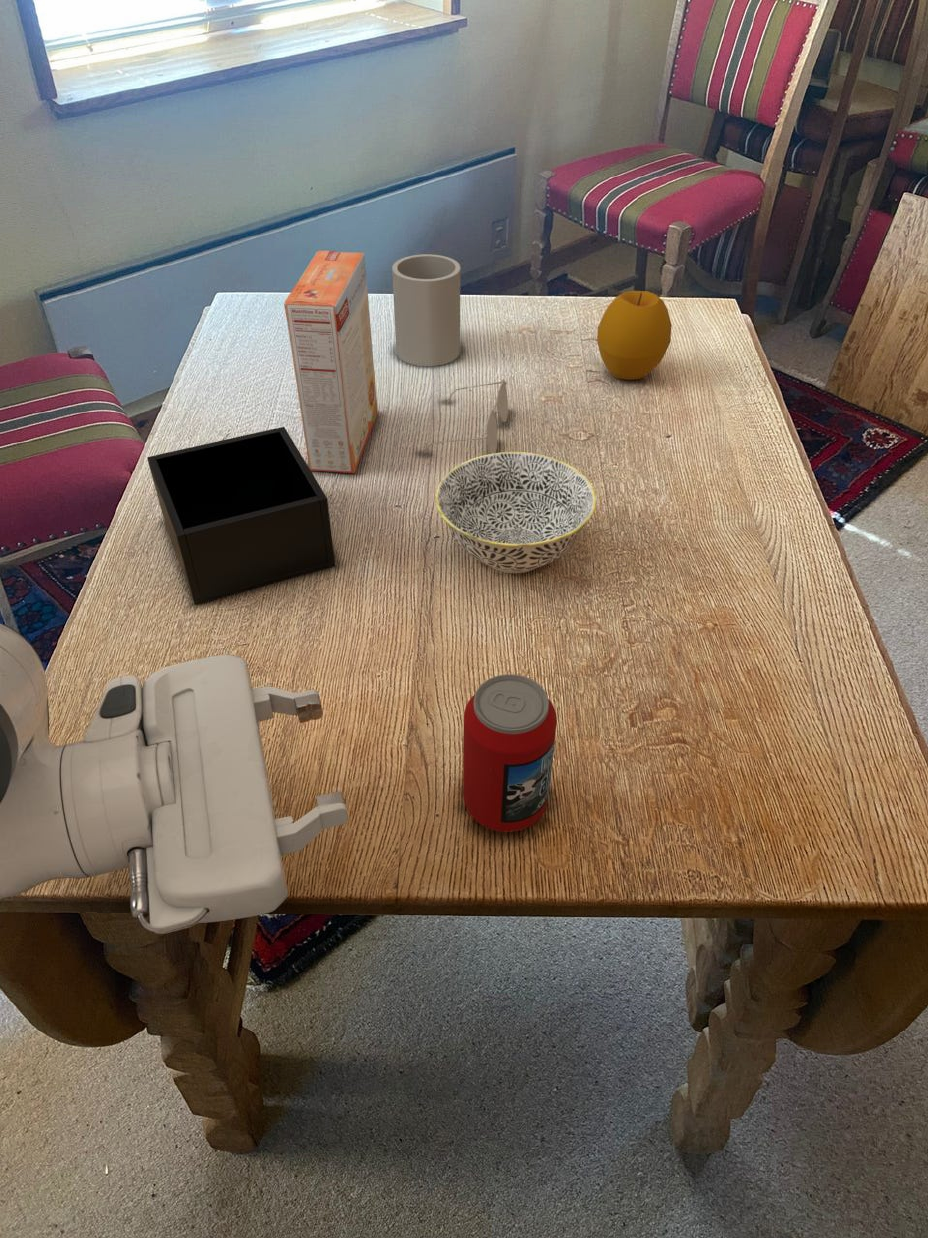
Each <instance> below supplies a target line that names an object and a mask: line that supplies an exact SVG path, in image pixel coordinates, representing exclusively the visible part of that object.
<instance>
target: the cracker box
mask: <svg viewBox="0 0 928 1238" xmlns="http://www.w3.org/2000/svg"><path fill="white" fill-rule="evenodd" d="M367 278H368V277H367V267H366V255H365V252H349V251H348V252H346V251H345V252H344V251H335V250H317V251H316V253H315V255H314V256H313V258H312V259H311V261H310V262H309V264H308V265H307V267H306V269H305V270H304V272H303V273H302V275H301V276H300V278H299V280H298V281H297V282H296V284H295V286H294V287H293V289H292V290H291V292H290V293H289V294H288V296H287V297H286V299H285V301H284V302H283V305H284V311H285V318H286V324H287V331H288V337H289V344H290V350H291V356H292V357H291V358H292V364H293V369H294V377H295V383H296V391H297V397H298V403H299V411H300V416H301V423H302V430H303V431H302V432H303V437H304V443H305V448H306V449H305V450H306V456H307V465H308V467H309V469H310V470H311V471H312V472H313V471H314V472H315V471H316V472H328V473H329V472H330V473H341V474H355V473H356V470H357V469H358V466H359V462H360V461H361V458H362V455H363V453H364V450H365V448H366V445H367V442H368V440H369V438H370V434H371V432H372V429H373V427H374V424H375V422H376V419H377V417H378V413H379V411H378V400H377V398H378V397H377V387H376V374H375V373H376V372H375V363H374V351H373V338H372V326H371V314H370V302H369V301H370V300H369V290H368V279H367Z"/></svg>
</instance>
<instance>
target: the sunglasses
mask: <svg viewBox="0 0 928 1238" xmlns="http://www.w3.org/2000/svg"><path fill="white" fill-rule="evenodd" d="M493 385H499V387H498V390H497V396H496V404H494V405H493V408H492V409H491V410H490V412H489V414H488V417H487V420H486V423H485V436H483V437H473V438H465V439H455V440H447V441H436V442H431V443H430V444H429V445H428V446H427V447H426V449H425V450H424V452H423V453H422V455H424V456H425V455H426V454H427V453H428V451H429V449H430V447H431V446H433V445H438V444H439V445H440V444H445V443H455V442H467V441H469V442H470V441H480V440H482V441H483V440H486V444H487V445H486V446H487V448H488V453H489V454H493V453H497V448H498V428H497V420H496V419H498V417H499V419H500V421H501V422H502V423H506V422H507V420H508V417H509V401H508V392H507V385H508V382H507V380H505V379H501V381H497V382H490V383H484V384H479V385H471V386H464V387H459V388H456V389H455V390H453V391H452V393H450V395H449V397H448V399H447V400H446V404H449V402H450V401H451V399H452V397H453V395H454V394H455V392H457V391H460V390H465V389H469V388H470V389H471V388H477V387H483V386H493ZM495 408H496V410H495ZM497 416H498V417H497Z"/></svg>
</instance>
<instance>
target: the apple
mask: <svg viewBox="0 0 928 1238" xmlns="http://www.w3.org/2000/svg"><path fill="white" fill-rule="evenodd" d="M596 333H597V334H596V343H597V346H598V350H599V354H600V357H601V360H602V361H603V363H604V365H605V367H606V369H607V370H608V372H609V374H610V375H611V376H612V377H614V378H617V379H620V380H628V381H629V380H639V379H642V378H644V377H646V376H648V375H649V374H651V372H652V371H654V369H655V368H657V367H658V366H659V364H660V363H661V362H662V360H663V359H664V357H665V355H666V353H667V350H668V349H669V346H670V344H671V340H672V339H671V338H672V321H671V316H670V313H669V309H668V306H667V305H666V304H665V302H664V300H663V299H662V298H660V296H658V295H657V294H655V293H653V292H651V291H648V290H627V291H625V292H623V293H620V294H619V295H617V296H615V297H614V299H613V300H612V301H611V302H610V304H609V305H607V307H606V309H605V311H604V312H603V314H602V316H601V319H600V322H599V324H598V326H597V332H596Z"/></svg>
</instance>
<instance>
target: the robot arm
mask: <svg viewBox="0 0 928 1238" xmlns="http://www.w3.org/2000/svg"><path fill="white" fill-rule="evenodd" d="M105 687H106V688H105V690H104V692H103V695H102V697H101V700H100V702H99V704H98V707H97V709H96V711H95V713H94V716H93V717H92V719H91V721H90V723H89V725H88V727H87V728H86V730H85V731H84V734H83V737H82V740H79V741H75V742H70V743H66V744H60V745H59V744H55V743H53V742H52V740H51V738H50V706H49V689H48V680H47V675H46V670H45V666H44V664H43V661H42V659H41V657H40V655H39V653H38V651H37V650H36V648H35V647H34V646H33V645H32V643H31V642H30V641H29V640H28V639H27V638H26V637H25V636H23V635H22V634H21V633H20V632H18V631H17V630H15V629H14V628H12V627H11V626H9V625H7V624H5V623H2V622H0V900H2V899H6V898H10V897H15V896H18V895H21V894H24V893H26V892H28V891H30V890H31V889H33V888H36V887H38V886H39V885H41V884H45V883H48V882H50V881H54V880H60V879H75V880H78V879H79V880H80V879H88V878H93V877H96V876H97V877H98V876H101V875H105V874H110V873H113V872H117V871H122V870H126V869H128V876H129V883H130V889H131V895H130V898H129V907H130V912H131V913H130V914H131V915H132V918H133V919H136V920H138V922H139V924H140V925H141V926H142V927H143V928H144V929H145V930H147V931H149V932H151V933H154V934H158V935H162V934H163V935H165V934H169V933H172V932H173V933H174V932H177V931H181V930H185V929H189V928H191V927H193V926H195V925H196V924H205V923H206V924H207V923H216V922H225V921H233V920H241V919H246V918H251V917H256V916H257V917H258V916H262V915H265V914H270V913H272V912H274V911H276V910H277V908H279V907H280V906H281V905H282V904H283V903H284V902H285V901H286V900H287V898H288V896H289V890H288V884H287V878H286V874H285V867H284V862H283V856H286V855H290V854H293V853H294V854H295V853H298V852H301V851H302V850H303V849H304V848H305V847H307V846H308V844H311V842H312V841H314V840H315V838H317V837H318V836H319V835H320V834H322V832H323V830H326V829H331V828H334V827H338V826H343V825H345V824H347V823H348V822H349V813H348V808H347V803H346V799H345V795H344V793H343V792H342V791H339V790H338V791H332V792H331V793H330V794H328V793H323V794H319V795H316V796H315V798H316V804H317V805H316V806H315V807H314V808H312V809H311V810H310V811H308V812H307V813H305V814H304V815H303V816H301V817H300V818H299V819H297V820H296V821H294V820H293V816H291V815H289V816H284V817H279V818H276V816H275V809H274V804H273V798H272V793H271V787H270V786H271V785H270V780H269V776H268V775H269V774H268V770H267V763H266V758H265V751H264V746H263V741H262V735H261V730H260V728H261V727H260V722H264V721H268V720H273V719H274V718H275V717H274V713H275V714H282V715H290V716H297V717H298V722H299V724H303V723H309V722H310V721H311V720H312V721H317V720H320V719H321V718H323V717H324V712H323V707H322V706H323V705H322V702H321V698H320V694H319V693H320V692H319V690H317V689H316V688H315V689H314V688H312V689H308V690H307V689H306V690H301V691H298V692H293V691H290V690H287V689H281V688H279V687H274V686H269V685H266V686H261V687H256V688H253V683H252V677H251V673H250V670H249V665H248V662H247V660H246V659H245V658H243V657H240V656H236V655H233V654H228V653H227V654H225V653H224V654H217V655H211V656H205V657H201V658H197V659H196V658H195V659H192V660H188V661H182V662H179V663H174V664H171V665H168V666H165V667H162V668H160V669H158V670H156V671H154V672H152V673H151V674H150V675H149V676H147V677H146V679H145V680H144V682H143V684H142V683H141V680H140V678H139V677H138V676H137V675H134V674H127V675H122V676H117V677H115V678H113V679H111V680H110V681H109V682H108V683H107V685H106V686H105ZM148 916H149V921H148V919H147V917H148Z"/></svg>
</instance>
